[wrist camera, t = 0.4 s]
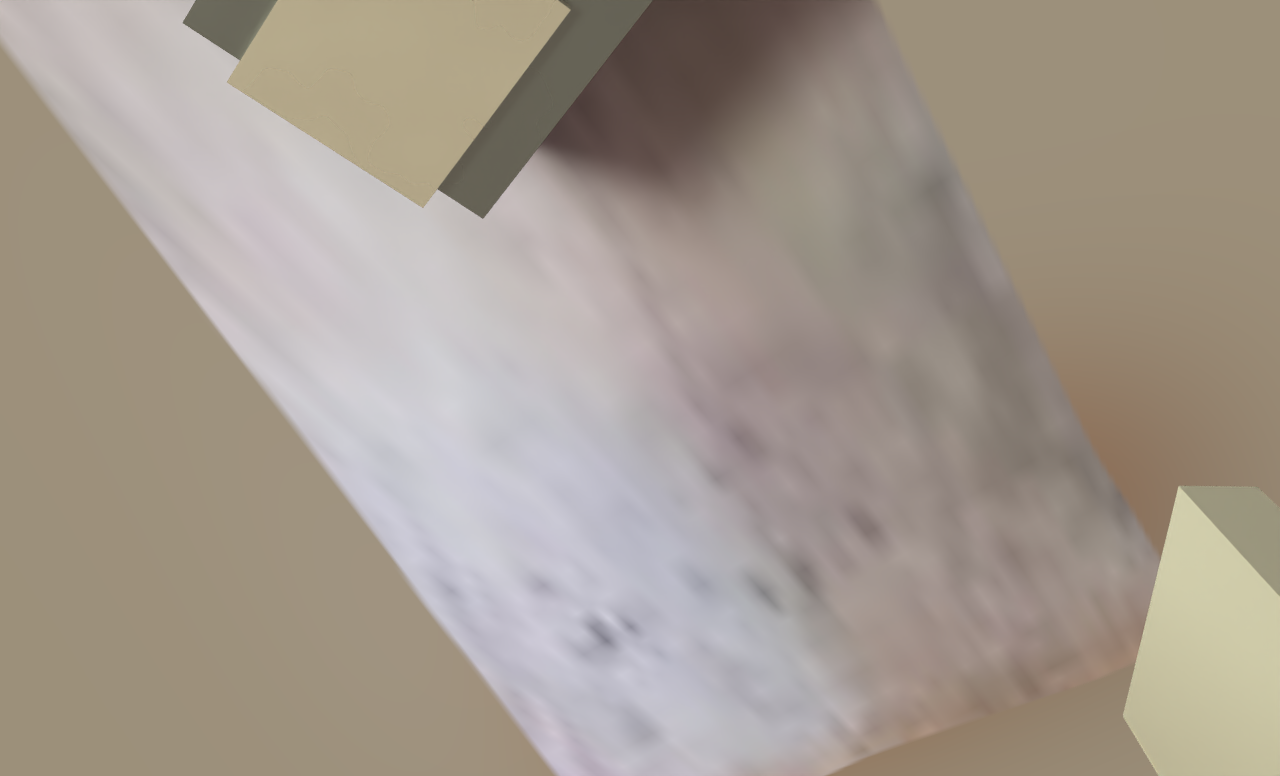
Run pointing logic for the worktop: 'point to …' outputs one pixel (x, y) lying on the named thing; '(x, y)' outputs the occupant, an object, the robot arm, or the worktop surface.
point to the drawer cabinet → (420, 79)
